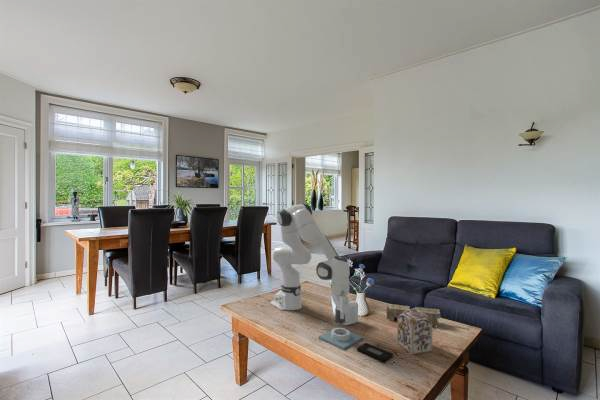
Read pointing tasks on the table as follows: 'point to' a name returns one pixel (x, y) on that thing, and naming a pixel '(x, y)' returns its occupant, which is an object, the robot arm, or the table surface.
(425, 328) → the decorative jar
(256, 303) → the table surface
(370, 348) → the vhs tape
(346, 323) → the photo printer
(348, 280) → the robot arm
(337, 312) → the dark grey block
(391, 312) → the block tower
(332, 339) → the dock
